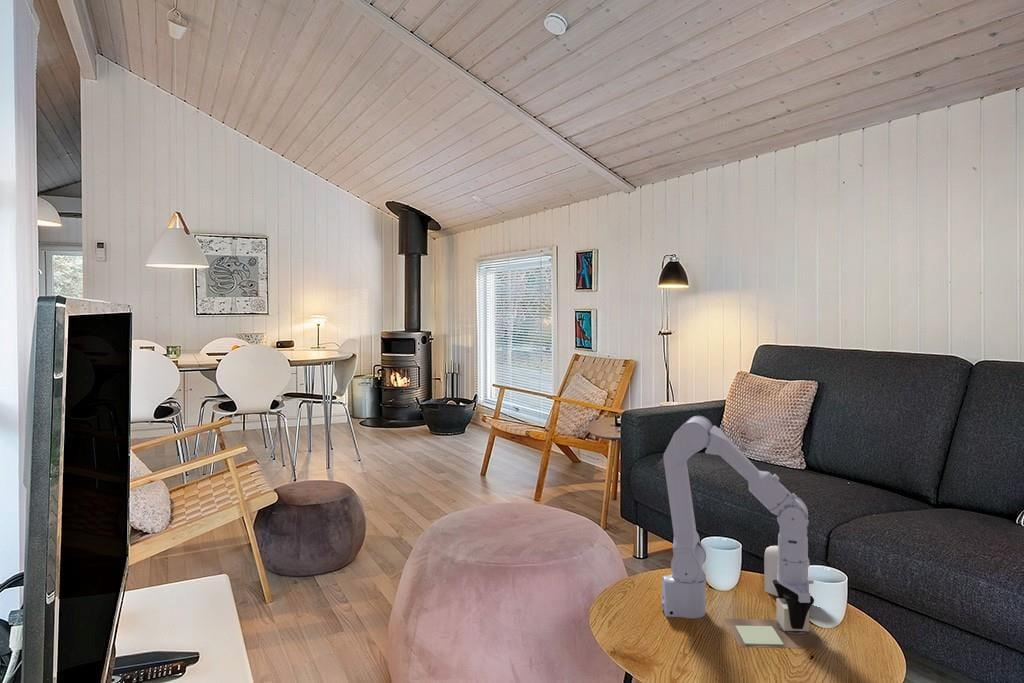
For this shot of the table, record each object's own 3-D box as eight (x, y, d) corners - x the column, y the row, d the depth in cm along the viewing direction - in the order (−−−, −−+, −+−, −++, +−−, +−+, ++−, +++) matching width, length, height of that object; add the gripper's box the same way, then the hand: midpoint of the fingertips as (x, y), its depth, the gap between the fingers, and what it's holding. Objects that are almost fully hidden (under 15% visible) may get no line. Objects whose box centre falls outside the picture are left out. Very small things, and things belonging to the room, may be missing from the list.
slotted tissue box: (784, 630, 138) (784, 608, 138) (776, 619, 143) (776, 597, 143) (809, 631, 138) (809, 608, 138) (800, 619, 143) (800, 598, 143)
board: (739, 652, 133) (739, 646, 133) (724, 624, 145) (724, 618, 145) (828, 654, 132) (828, 648, 132) (806, 625, 144) (806, 620, 144)
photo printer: (761, 595, 159) (761, 544, 158) (770, 590, 162) (771, 540, 161) (803, 610, 151) (803, 556, 150) (812, 605, 154) (813, 551, 153)
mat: (744, 644, 134) (744, 643, 134) (735, 626, 141) (735, 625, 141) (783, 645, 133) (783, 644, 133) (771, 627, 141) (771, 626, 141)
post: (781, 634, 138) (781, 613, 137) (771, 620, 144) (772, 599, 144) (813, 635, 137) (814, 613, 137) (802, 620, 144) (802, 599, 143)
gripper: (826, 571, 132) (825, 639, 133) (800, 545, 147) (799, 606, 148) (789, 571, 133) (789, 638, 134) (767, 545, 147) (766, 606, 148)
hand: (792, 621), depth 141 cm, fingers closed on slotted tissue box, 5 cm apart
